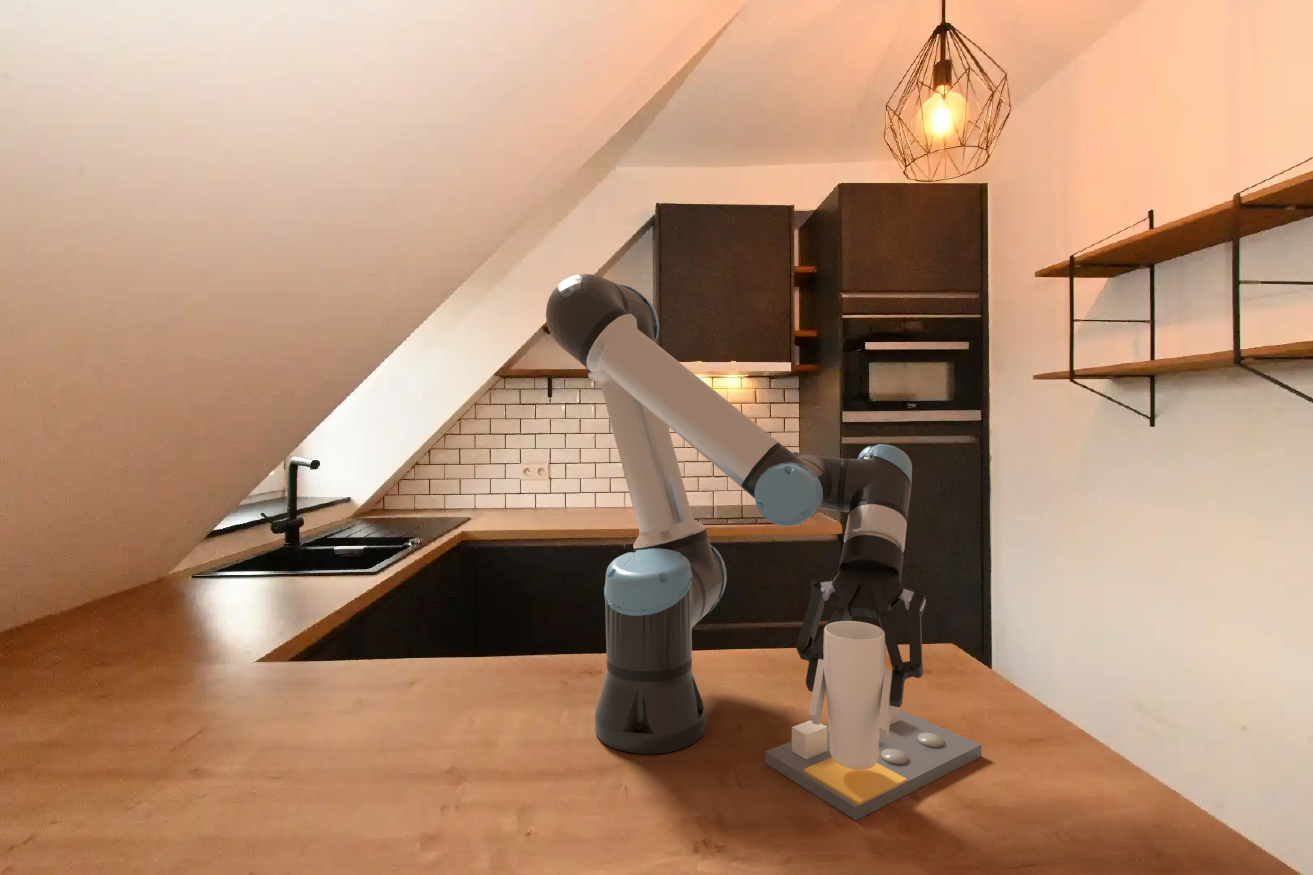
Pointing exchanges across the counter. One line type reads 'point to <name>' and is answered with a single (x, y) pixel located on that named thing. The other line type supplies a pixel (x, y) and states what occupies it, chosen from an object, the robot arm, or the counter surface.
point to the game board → (900, 770)
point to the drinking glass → (854, 690)
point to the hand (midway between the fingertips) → (847, 725)
